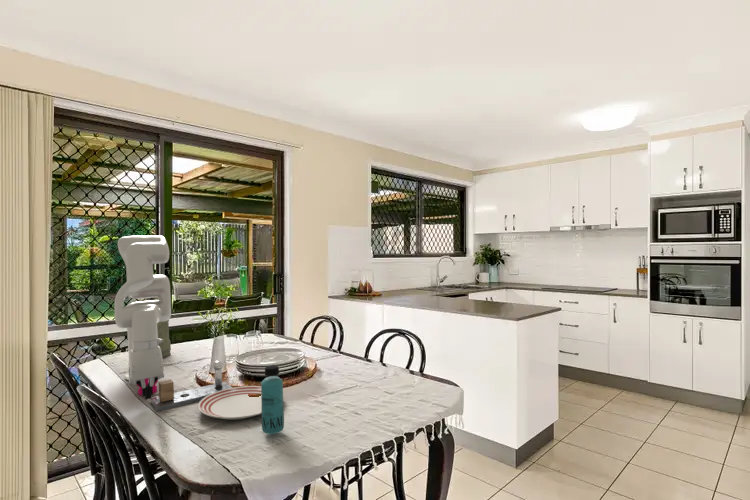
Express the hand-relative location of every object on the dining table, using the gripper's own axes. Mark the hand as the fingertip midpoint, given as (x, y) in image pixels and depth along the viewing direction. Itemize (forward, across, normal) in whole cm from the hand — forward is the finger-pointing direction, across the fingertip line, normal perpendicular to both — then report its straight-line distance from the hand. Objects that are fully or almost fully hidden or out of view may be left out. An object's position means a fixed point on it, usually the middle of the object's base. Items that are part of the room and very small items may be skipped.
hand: (147, 397), depth 146 cm
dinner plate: (+4, -25, +21) cm, 33 cm away
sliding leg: (+2, -6, 0) cm, 6 cm away
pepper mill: (+4, -3, -17) cm, 18 cm away
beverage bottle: (+4, -25, +46) cm, 52 cm away
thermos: (+4, -18, -69) cm, 71 cm away
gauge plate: (+4, -15, 0) cm, 15 cm away
